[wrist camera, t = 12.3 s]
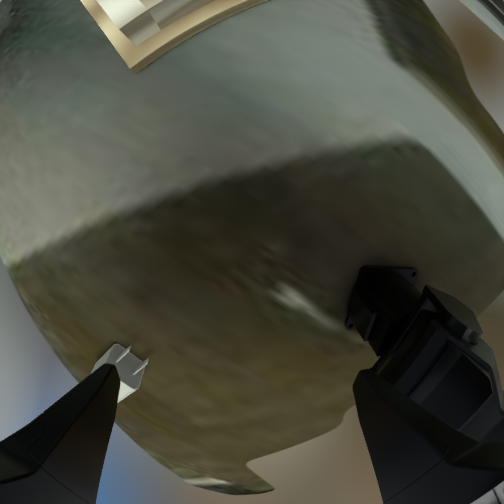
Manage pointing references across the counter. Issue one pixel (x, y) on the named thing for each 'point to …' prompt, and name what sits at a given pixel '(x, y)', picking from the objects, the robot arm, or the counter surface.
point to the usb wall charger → (124, 368)
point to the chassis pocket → (157, 23)
